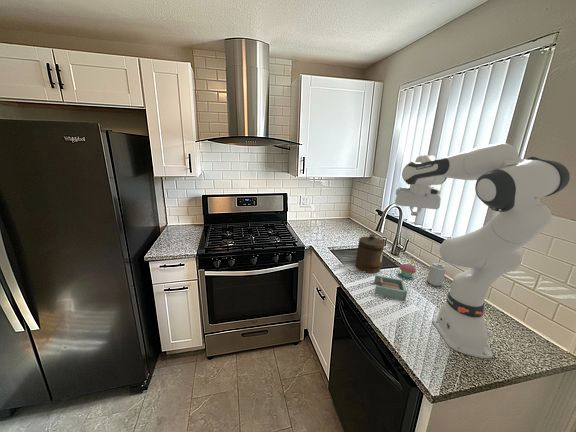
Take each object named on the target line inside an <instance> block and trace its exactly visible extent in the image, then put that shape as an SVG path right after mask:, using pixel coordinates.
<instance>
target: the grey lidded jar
mask: <svg viewBox="0 0 576 432" xmlns="http://www.w3.org/2000/svg"><path fill="white" fill-rule="evenodd" d="M428 269H429V270H428V275H427V278H426V281H427V282H428V283H429V284H430V285H432V286H433V287H434V286H435V287H440V286H443V284H444V280H445V276H446V271H447V268H446V264H444V263H443V262H440V261H433V262H431V263H430V264H429V268H428Z"/></svg>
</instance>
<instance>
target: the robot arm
mask: <svg viewBox="0 0 576 432" xmlns="http://www.w3.org/2000/svg"><path fill="white" fill-rule="evenodd" d="M401 175H402V176H401V177H402V179H403V182H405V183H406V184H407V185H409V187H399V188H397V189H396V190H395V195H396V196H395V199H394V204H395V206H399V207H400V206H401V207H408V208H409V210H410V215H411V217H412V216H414V217H418V215H419V213H420V212H421V211H422V209H428V210H429V209H430V210H439V209H440V207H441V206H440V205H441V200H442V199H441V196H440V194H441V190H439V189H437V188H435V187H432V186H438V185H439V186H440V185H442V184H443V183H445V182H446V180H447V179H454V180H461V181H463V180H465V181H476V182H475V188H474V189H475V191H474V192H475V194H476V196H477V198H478V199H479V200H480V201H481V202H482V203H483V204H484V205H486V206H487V207H489V208H490V210H492V211H495V212H498V213H497V214H495V216H493V217H492V218H491V219H490V220H489V221H488V222H487V223H486V224H484V225H483V226H482V227H479V228H478V229H476V230H475V231H472V232H469V233H467V234H464V235H463V234H462V235H461V236H458V237H451V238H446V239H444V240H443V242H442V243H441V244H440V247H439V255H440V258H441V259H442V261H443V262H445V263H446V264H449V265H453V266H455V267H462V268H468V269H467V270H465V271H462V272H459V273H457V274H455V276H454V277H453V278H452V282H451V283H452V284H451V285H450V291H448V293H447V295H446V301H445V303H443V304H441V305H440V308H439V310H438V313H437V316H436V317H434V318H432V320H431V321H432V323H433V325H434V327H435V328H436V329H437V331H438V332H439V333H440V335H441V337H442V339H443V340H444V342H445V343H446V344H447V345H448V347H449V348H450V349H452V350H454V351H456V352H459V353H461V354H464V355H467V356H471V357H475V358H480V359H492V358H493V356H494V353H493V352H492V349H491V345H490V342H489V337H491V335H492V331H491V330H489V329H487V327H486V326H487V321H486V320H485V318H484V314H485V313H484V312H485V303H484V302H485V299H486V297H487V294H488V291H489V289H490V287H491V286H492V285H493V284H494V283H495V282H496V281H497V280H498V279H499V278H500V277H502V276H504V275H505V274H508V273H510V272H513V271H515V270H517V269H518V268H519V267H520V266H521V264H522V261H523V260H522V259H523V258H522V254H521V252H520V250H519V249H520V248H522V247H524V246H525V245H527V244H528V243H530V242H531V241H533V240H534V239H535V238H537V237H538V236H539V235H540V234H541V233H542V232H543V231H544V230H546V228H547V227H548V226H549V224H551V222H552V220H553V219H552V218H553V216H552V215H553V214H552V212H551V210H550V209H549V208H548V207H547V205H545V204H543V203H542V202H541V199H540V198H544V197H545V198H546V197H550V196H553V195H555V194H557V193H559V192H561V191H562V190H564V189H565V188H566V187H567V186H568V185H569V182H570V178H571V177H570V172H569V169H568V168H567V167H566V166H565V165H564V164H562V163H560V162H558V161H555V160H551V159H550V160H549V159H544V158H539V157H537V156H530V157H527V158H526V159H522V158H521V157H520V155H519V153H518V151H517V149H516V148H515V147H514V146H513V145H511V144H509V143H493V144H487V145H481V146H478V147H475V148H470V149H468V150H465V151H462V152H459V153H455V154H453V155H447V156H445V157H442V158H437V159H436V156H434V155H430V154H425V155H418V156H417V157H416V159H415V161H410V162H408V163H407V164H406V165H405V166H404V167H403V169H402V172H401ZM414 208H417V210H416V211H414Z"/></svg>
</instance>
